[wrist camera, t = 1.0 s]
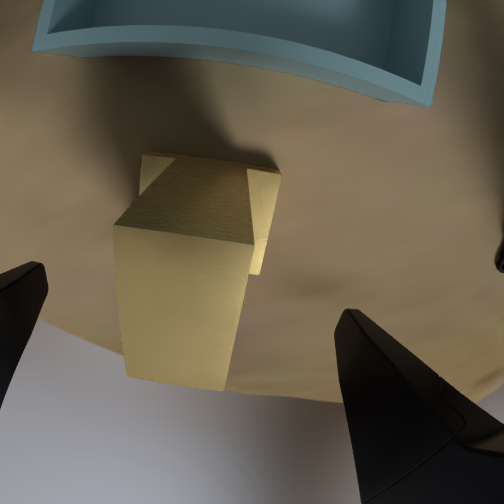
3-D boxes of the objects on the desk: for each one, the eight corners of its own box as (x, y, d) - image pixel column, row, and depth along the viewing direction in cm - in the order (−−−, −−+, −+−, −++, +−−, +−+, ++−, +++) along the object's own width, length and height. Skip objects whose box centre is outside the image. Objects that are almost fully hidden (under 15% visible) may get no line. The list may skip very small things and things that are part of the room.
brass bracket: (279, 169, 14) (323, 255, 6) (258, 264, 16) (272, 394, 9) (148, 150, 13) (55, 216, 6) (142, 247, 15) (83, 365, 8)
